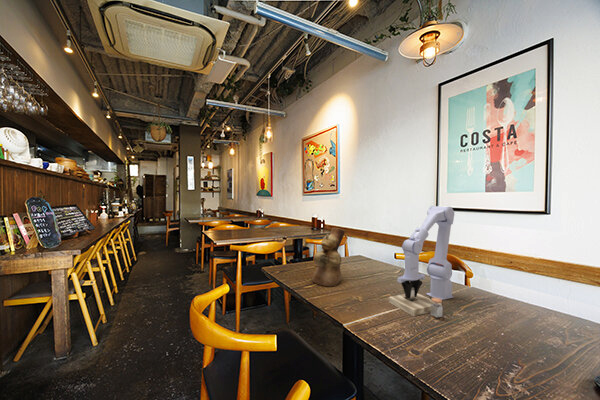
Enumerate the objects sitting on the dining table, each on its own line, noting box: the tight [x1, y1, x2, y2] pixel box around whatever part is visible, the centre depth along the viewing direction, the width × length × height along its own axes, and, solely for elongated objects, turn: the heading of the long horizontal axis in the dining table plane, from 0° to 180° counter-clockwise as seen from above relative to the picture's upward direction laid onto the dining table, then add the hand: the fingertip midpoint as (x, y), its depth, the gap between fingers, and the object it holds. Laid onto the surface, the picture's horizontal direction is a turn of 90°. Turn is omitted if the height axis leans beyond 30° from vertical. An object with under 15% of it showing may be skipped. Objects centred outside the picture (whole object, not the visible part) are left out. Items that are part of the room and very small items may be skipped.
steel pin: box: [407, 286, 415, 301], centre depth 113 cm, size 3×3×7 cm
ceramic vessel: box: [311, 227, 345, 288], centre depth 142 cm, size 16×22×30 cm
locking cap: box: [431, 297, 443, 307], centre depth 100 cm, size 4×4×4 cm
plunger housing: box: [429, 304, 443, 318], centre depth 100 cm, size 3×3×4 cm
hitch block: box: [388, 292, 443, 317], centre depth 111 cm, size 16×14×2 cm
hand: (410, 296), depth 112 cm, fingers closed on steel pin, 3 cm apart
